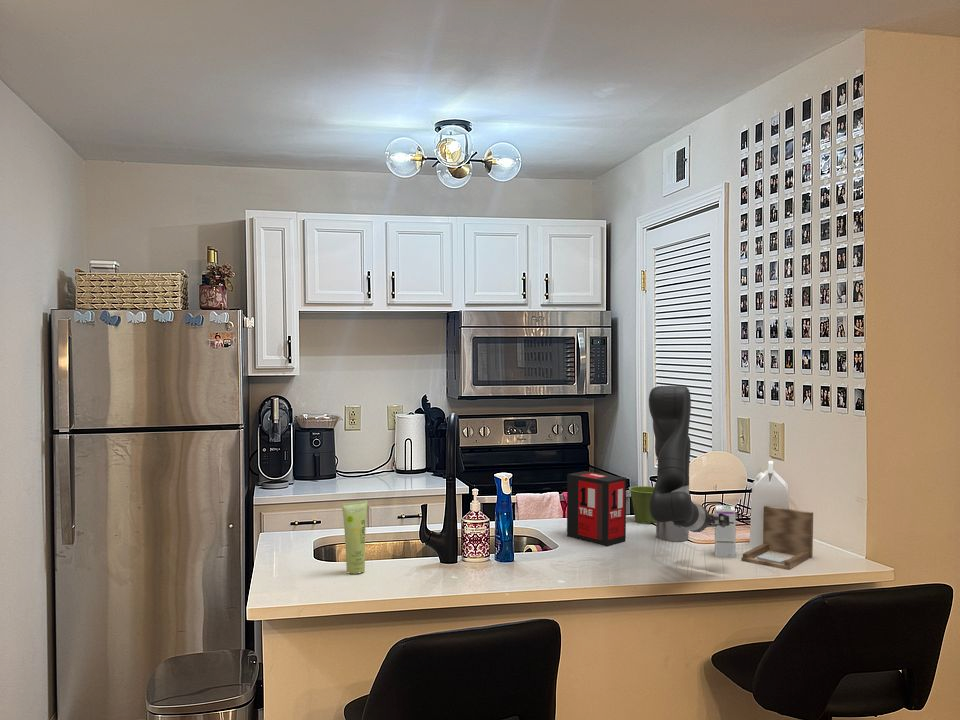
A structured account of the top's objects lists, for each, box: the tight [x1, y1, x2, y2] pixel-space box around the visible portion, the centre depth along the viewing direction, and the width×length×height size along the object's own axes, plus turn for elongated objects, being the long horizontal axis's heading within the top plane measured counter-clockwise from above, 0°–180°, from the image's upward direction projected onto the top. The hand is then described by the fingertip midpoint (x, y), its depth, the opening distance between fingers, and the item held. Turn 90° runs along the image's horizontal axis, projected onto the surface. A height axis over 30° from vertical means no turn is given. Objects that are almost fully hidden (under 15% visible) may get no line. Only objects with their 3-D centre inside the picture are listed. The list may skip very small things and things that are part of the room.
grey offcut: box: [756, 553, 789, 564], centre depth 241 cm, size 7×4×1 cm, turn 41°
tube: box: [341, 499, 369, 574], centre depth 234 cm, size 6×5×20 cm
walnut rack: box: [740, 506, 814, 571], centre depth 243 cm, size 14×17×14 cm
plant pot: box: [628, 485, 656, 525], centre depth 293 cm, size 12×12×11 cm
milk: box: [748, 460, 790, 548], centre depth 260 cm, size 12×12×26 cm
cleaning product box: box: [566, 470, 627, 547], centre depth 270 cm, size 16×9×20 cm, turn 42°
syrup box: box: [714, 504, 737, 558], centre depth 248 cm, size 6×6×14 cm
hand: (708, 524), depth 240 cm, fingers open, 8 cm apart
